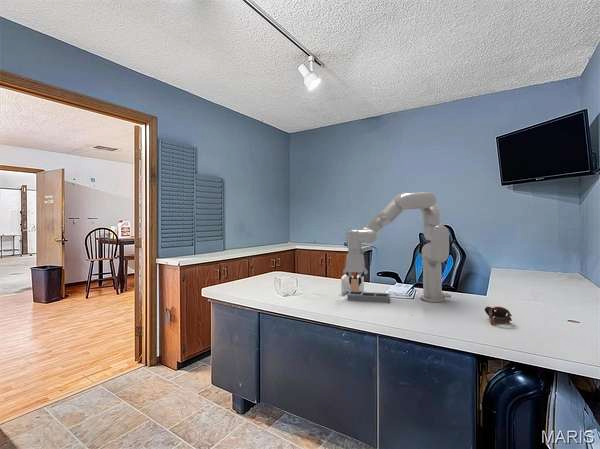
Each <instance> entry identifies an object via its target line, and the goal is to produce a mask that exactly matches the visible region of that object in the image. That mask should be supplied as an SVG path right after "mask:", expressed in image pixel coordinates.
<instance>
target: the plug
mask: <svg viewBox="0 0 600 449" xmlns="http://www.w3.org/2000/svg"><path fill="white" fill-rule="evenodd" d="M352 276H353V278H352V279H351V292H359V279H358V278H357V276H358V275H352Z"/></svg>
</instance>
